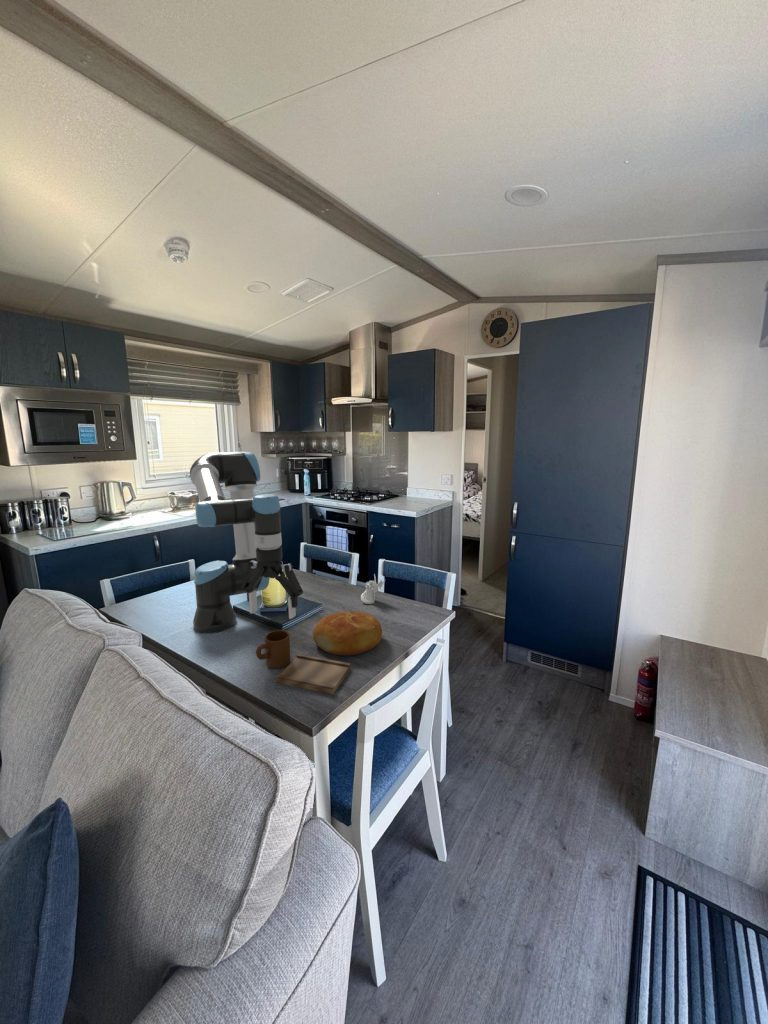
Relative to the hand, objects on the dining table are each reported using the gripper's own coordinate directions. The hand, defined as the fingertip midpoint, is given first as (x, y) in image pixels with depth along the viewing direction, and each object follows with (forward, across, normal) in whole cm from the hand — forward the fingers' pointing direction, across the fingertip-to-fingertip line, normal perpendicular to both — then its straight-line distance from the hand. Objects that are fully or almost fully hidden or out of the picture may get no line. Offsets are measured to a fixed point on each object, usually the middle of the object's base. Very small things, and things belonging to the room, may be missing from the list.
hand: (272, 614), depth 130 cm
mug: (+18, -1, 0) cm, 18 cm away
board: (+18, +14, -1) cm, 22 cm away
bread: (+18, +16, +21) cm, 32 cm away
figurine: (+16, +12, +56) cm, 60 cm away
